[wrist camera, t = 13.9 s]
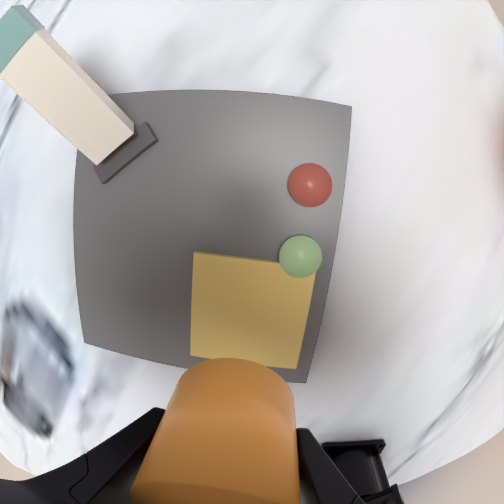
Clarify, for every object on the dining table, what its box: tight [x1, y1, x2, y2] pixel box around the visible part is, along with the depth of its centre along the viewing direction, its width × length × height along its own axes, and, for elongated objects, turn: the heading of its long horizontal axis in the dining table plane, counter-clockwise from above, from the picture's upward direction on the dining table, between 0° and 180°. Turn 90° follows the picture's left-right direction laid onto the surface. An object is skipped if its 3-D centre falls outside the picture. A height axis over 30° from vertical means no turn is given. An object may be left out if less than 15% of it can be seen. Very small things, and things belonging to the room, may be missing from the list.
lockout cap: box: [129, 358, 301, 504], centre depth 7 cm, size 4×4×5 cm
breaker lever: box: [0, 5, 134, 165], centre depth 10 cm, size 2×3×11 cm
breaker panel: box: [73, 90, 352, 383], centre depth 17 cm, size 17×18×1 cm
